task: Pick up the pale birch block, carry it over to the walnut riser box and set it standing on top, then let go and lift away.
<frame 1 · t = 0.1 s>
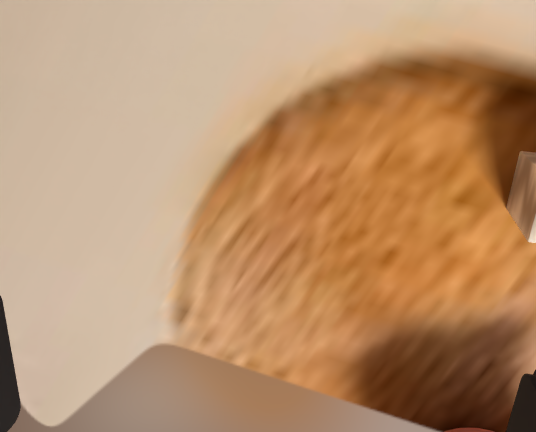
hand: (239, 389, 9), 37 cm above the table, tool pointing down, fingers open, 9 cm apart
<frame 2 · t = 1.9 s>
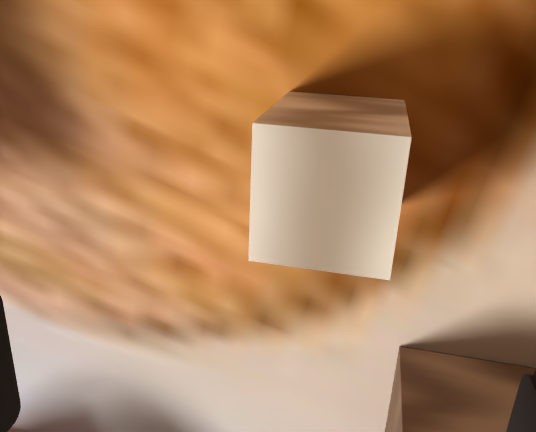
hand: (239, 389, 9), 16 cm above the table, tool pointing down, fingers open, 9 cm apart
birch block: (340, 150, 23), on the table
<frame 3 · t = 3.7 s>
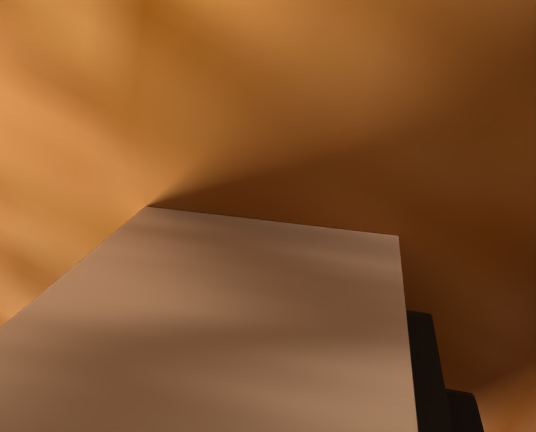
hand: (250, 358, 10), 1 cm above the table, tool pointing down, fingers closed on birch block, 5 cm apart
birch block: (261, 329, 11), on the table, touching gripper
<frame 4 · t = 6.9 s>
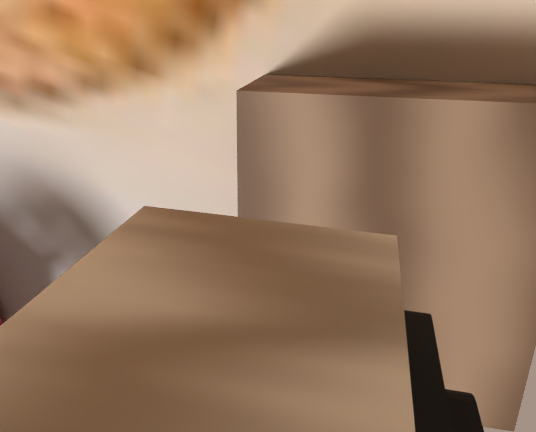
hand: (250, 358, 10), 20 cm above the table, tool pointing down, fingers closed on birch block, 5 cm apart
birch block: (260, 328, 11), point 19 cm above the table, touching gripper
walnut riser: (384, 224, 29), on the table
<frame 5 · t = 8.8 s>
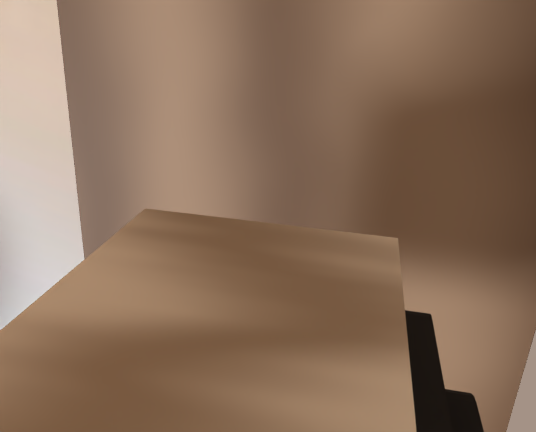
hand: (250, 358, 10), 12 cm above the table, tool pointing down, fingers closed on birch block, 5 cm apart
birch block: (261, 330, 11), point 11 cm above the table, touching gripper
walnut riser: (319, 174, 20), on the table
when the fingers open (8 cm above the table, at t = 10.2 s): birch block drops 1 cm, resting on walnut riser.
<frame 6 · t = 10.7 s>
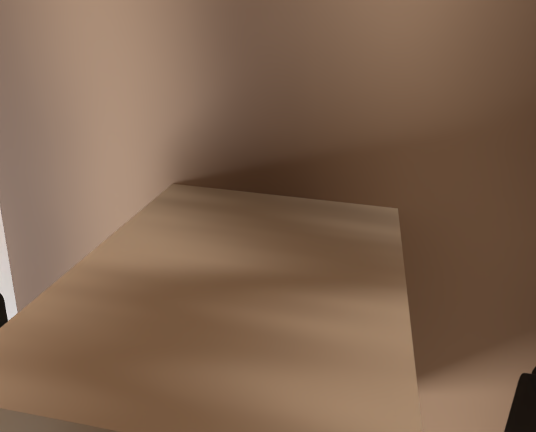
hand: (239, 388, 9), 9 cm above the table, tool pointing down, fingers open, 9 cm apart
birch block: (275, 294, 12), point 6 cm above the table, touching walnut riser
walnut riser: (305, 208, 18), on the table
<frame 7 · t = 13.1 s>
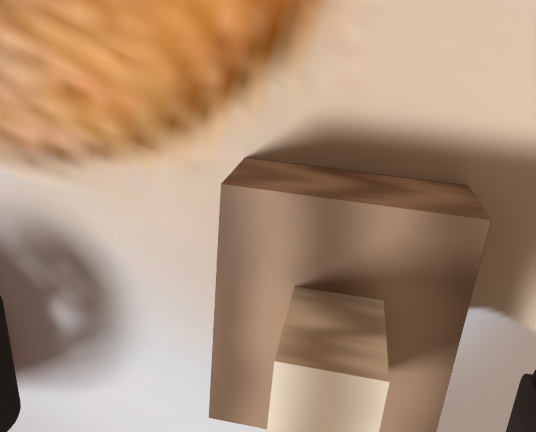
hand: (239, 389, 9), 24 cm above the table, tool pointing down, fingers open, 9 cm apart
birch block: (332, 331, 30), point 6 cm above the table, touching walnut riser
walnut riser: (336, 283, 35), on the table
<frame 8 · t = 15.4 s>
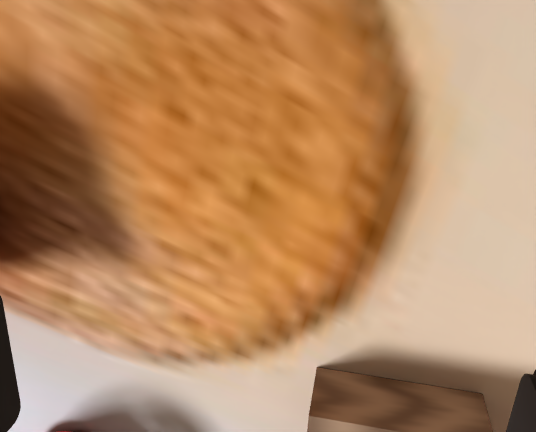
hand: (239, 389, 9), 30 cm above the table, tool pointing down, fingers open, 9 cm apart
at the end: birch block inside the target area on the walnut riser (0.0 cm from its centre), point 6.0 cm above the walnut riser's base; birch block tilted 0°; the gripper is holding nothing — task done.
